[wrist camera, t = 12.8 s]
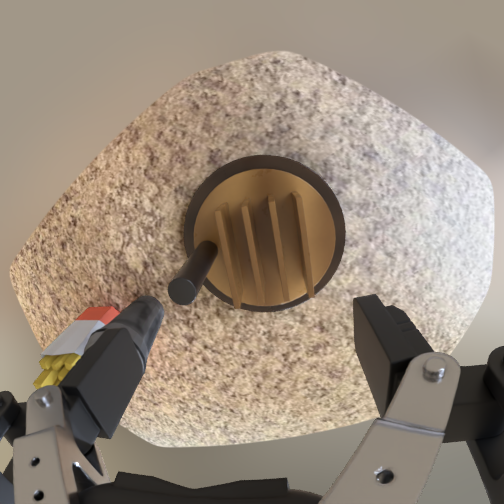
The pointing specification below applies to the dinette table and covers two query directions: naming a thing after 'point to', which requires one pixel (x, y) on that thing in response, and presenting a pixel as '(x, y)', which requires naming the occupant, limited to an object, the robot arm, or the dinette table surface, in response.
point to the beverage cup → (137, 325)
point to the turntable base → (277, 164)
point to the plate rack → (259, 241)
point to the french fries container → (71, 345)
